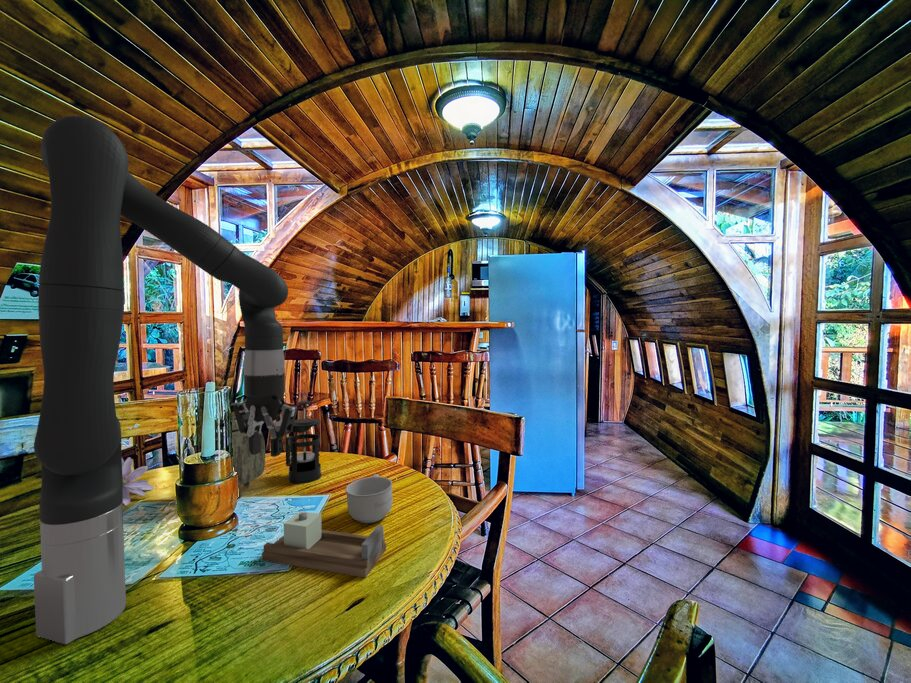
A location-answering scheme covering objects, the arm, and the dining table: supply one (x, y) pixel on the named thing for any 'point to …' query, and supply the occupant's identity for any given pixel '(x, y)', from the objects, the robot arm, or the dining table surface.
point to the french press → (305, 463)
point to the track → (332, 552)
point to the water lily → (133, 486)
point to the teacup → (369, 498)
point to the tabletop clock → (246, 456)
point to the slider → (302, 530)
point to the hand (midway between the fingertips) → (265, 454)
